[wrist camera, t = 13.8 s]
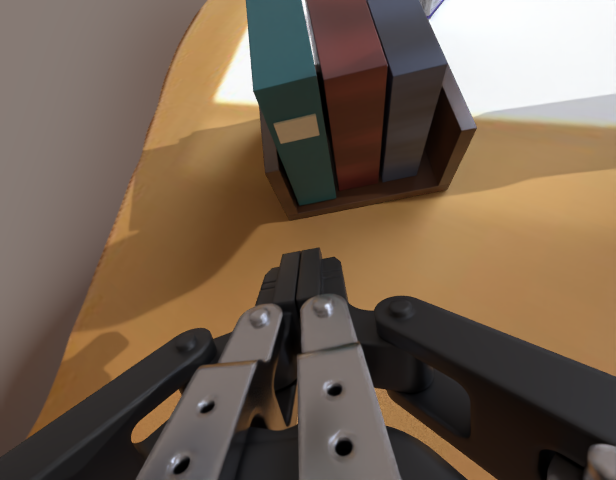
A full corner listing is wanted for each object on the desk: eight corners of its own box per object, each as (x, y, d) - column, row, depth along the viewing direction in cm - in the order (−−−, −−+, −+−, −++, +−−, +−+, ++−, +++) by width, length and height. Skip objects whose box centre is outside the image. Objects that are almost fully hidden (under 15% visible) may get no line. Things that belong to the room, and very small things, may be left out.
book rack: (277, 118, 40) (230, -15, 26) (410, 87, 38) (436, -73, 24) (289, 220, 34) (237, 120, 20) (447, 189, 32) (512, 55, 18)
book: (287, 120, 37) (243, -21, 24) (320, 113, 37) (294, -35, 23) (299, 207, 32) (253, 93, 19) (336, 200, 32) (316, 77, 18)
